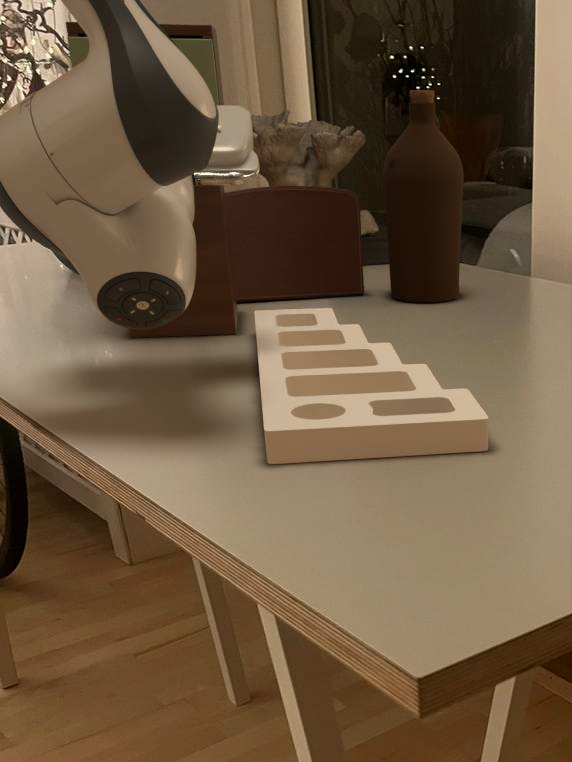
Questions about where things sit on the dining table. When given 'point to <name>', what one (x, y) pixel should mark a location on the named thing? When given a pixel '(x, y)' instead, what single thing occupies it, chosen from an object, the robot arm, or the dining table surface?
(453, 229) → the olive oil
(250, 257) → the letter holder
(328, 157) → the coral
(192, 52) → the drawer
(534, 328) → the dining table surface
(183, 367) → the dining table surface
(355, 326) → the holder
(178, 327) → the stand
